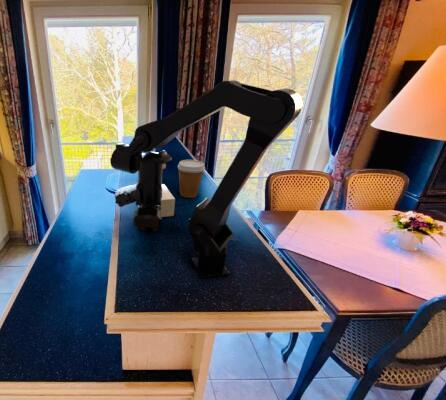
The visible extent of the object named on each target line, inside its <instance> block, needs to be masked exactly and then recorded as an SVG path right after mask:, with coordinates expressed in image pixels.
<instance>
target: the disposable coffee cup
mask: <svg viewBox="0 0 446 400" xmlns="http://www.w3.org/2000/svg"><path fill="white" fill-rule="evenodd" d="M177 168H178V181H179V182H178V185H179V195H180V196H181V197H184V198H187V199H188V198H189V199H190V198H196V197H197V196H198V194H199V190H200V187H201V186H200V185H201V181H202V178H203V175H204V171H205V170H206V167H205V163H204V162H203V161H201V160H197V159H182V160H179V163H178V165H177Z"/></svg>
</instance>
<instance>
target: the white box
mask: <svg viewBox="0 0 446 400" xmlns="http://www.w3.org/2000/svg"><path fill="white" fill-rule="evenodd" d="M175 204H176V198H175V197H174V196H173V194H172V193H171V191H170V190H169V189H168V187H167V186H166V185H165V184H164V183H162V198H161V211H160V212H161V213H162V216H161V218H163V217H164V218H165V217H174V216H175Z"/></svg>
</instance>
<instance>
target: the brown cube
mask: <svg viewBox="0 0 446 400" xmlns="http://www.w3.org/2000/svg"><path fill="white" fill-rule="evenodd" d="M139 230H140V231H146V230H145V227H139ZM158 230H159V228H153V230H152V232H158Z"/></svg>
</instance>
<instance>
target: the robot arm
mask: <svg viewBox="0 0 446 400" xmlns="http://www.w3.org/2000/svg"><path fill="white" fill-rule="evenodd" d="M303 103H304V102H303V99H302V96H301V95H300V94H299V92H297V91H296V90H295V89H292V88H279V89H274V90H270V89H267V88H263V87H259V86H254V85H249V84H245V83H242V82H240V81H238V80H236V79H234V80H232V79H231V80H223V81H220V82H219V83H218V84H216V86H215V87H213V88H211V89H210V90H209V91H206V92H204V93H203V94H202V95H200V96H198V97H197V98H195V99H193V100H192V101H190V102H188V103H187V104H185V105H183V106H182V107H180V108H179V109H177V110H175V111H174V112H172V113H170V114H169V115H167V116H165V117H162V118H159V119H156V120H152V121H149V122H147V123H145V124H142V125H140V126H138V127H136V129H135V130H134V136H133V138H132V140H131V141H130V143H129V144H126V143H124V142H119V143H116V144H115V149H114V150H113V152H112V154H111V157H110V158H109V159H110V160H109V163H110V165H111V168H112V169H114V170H117V171H121V172H125V173H129V174H132V175H134V174H137V182H136V183H134V184H130V185H126V186H122V187H120V188H118V189H116V190H115V193H114V199H115V204H117V206H118V207H119V208H122V207H125V206H128V205H130V204H134V203H135V206H137V208H136V209H135V211H134V214H133V218H132V221H133V224H132V226H134V227H135V228H140V227H145V230H144V231H145V233H146V234H147V235H148V234H149V235H151V233H152V232H153V231H152V230H153V228H158V229H160V228H162V217H161V216H162V213H161V212H160V211H161V198H162V184H163V170H164V169H163V164H165V165H166V163H169V162H171V161H172V160H173V157H172V156H171V155H170V154H168V153H167V151H166V150H165V149H164V150H161V151H159V152H156V151H155V152H154V149H155V150H157V149H160V148H163V147H164V146H166V145H167V144H168V143H170V142H171V141H172V140H173V139H174V138H176V136H178V134H180V132H182V131H184V130H185V129H187V128H189V127H191V126H193V125H195V124H196V123H198V122H201V121H202V120H204V119H207V118H208V117H210V116H212V115H214V114H216V113H217V112H220V111H221V110H223V109H225V108H228V109H230V110H232V111H234V112H236V113H238V114H239V115H243V116H245V117H247V118H249V119H248V122H247V126H246V131H245V136H244V139H243V142H242V144H241V145H240V147H239V149H238V151H237V153H236V155H235V156H234V158H233V160H232V162H231V163H230V165H229V167H228V169H227V170H226V172H225V174H224V176H223V177H222V179H221V181H220V183H219V184H218V186H217V188H216V190H215V191H214V192H213V195H212V197H211V198H208V197H205V199H204V200H202V201H201V202H200V203H198V204H197V205H196V206H195V207H194V209H193V212H192V215H191V216H190V218H189V219H188V220H187V223H188V226H187V230H188V232H189V234H190V236H191V239H192V243H193V247H194V251H196V252H198V255H197V257H192V258H191V262H192V264H193V265H194V268H195V270H196V271H197V272H198V274H199V276H200V277H201V278H202V279H208V278H216V277H224V276H229V275H230V271H229V270H228V269H227V267H226V265H225V263H226V259H227V258H226V257H227V254H228V253H227V248H228V247H227V245H228V243H229V242H230V241H231V240H232V239H233V237H235V233H234V232H233V230H232V229H231V228H230V226H229V224H227V221H228V218H229V216H230V211H231V207H232V205H233V203H234V202H235V200H236V199H237V197H238V195H239V194H240V192H241V191H242V189H243V187H244V186H245V185H246V184H247V181H248V180H249V179H250V177H251V176H252V173H253V172H254V170H255V169H256V167H257V166H258V164H259V163H260V161H261V159H262V158H263V156H264V155H265V153H266V152H267V150H268V149H269V148H270V147H271V145H272V144H273V143H274V142H275V141H276V140H277V139H278V138H279V137H280V136H281V135H282V134H283V133H284V132H285V131H286V130H287V128H288V127H289V126H290V125H291V124H292V123H293V122H294V121H295V120H296V119H297V118H298V116H299V115H300V114H301V112H302V109H303Z"/></svg>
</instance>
